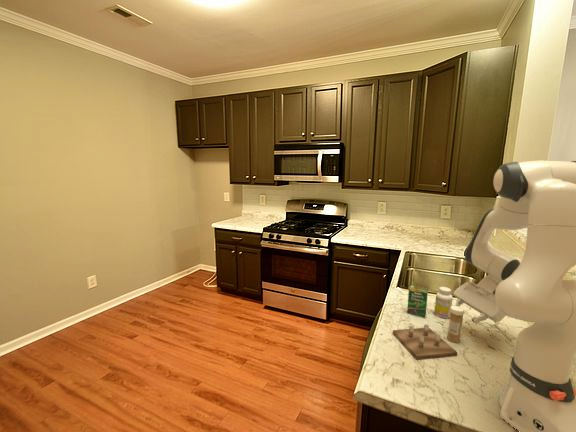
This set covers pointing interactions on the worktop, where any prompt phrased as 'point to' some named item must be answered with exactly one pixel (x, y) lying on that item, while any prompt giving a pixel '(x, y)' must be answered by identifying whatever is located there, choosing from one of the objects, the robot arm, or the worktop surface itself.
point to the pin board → (424, 343)
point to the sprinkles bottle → (455, 323)
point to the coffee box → (417, 301)
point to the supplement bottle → (443, 302)
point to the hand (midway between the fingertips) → (464, 315)
